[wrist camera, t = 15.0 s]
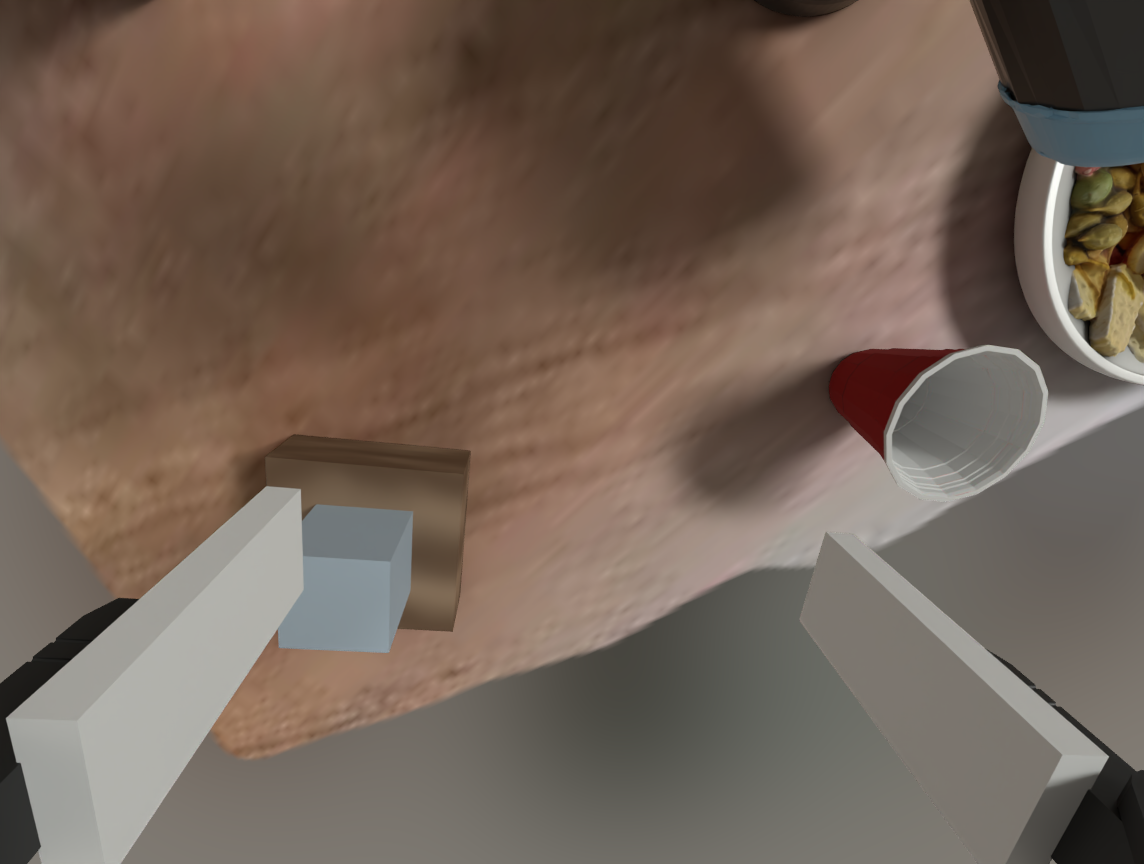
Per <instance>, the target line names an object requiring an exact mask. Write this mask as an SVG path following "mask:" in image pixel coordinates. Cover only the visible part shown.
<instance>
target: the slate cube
mask: <svg viewBox="0 0 1144 864" xmlns="http://www.w3.org/2000/svg"><path fill="white" fill-rule="evenodd" d="M412 528H413V511H402V510H388V509H374V508H360V507H346V506H333V505H319V504H316V505H315V506H314V507H313V509H312V510H311V511H310V512H309V513H308V515H307V516H306V517H305V518H304V519H303V520H302V547H303V581H304V590H303V592H302V593H301V594H300V596H299V597H298V599H297V600H296V602H295V603H294V605H293V606H292V608H291V609H290V611H289V612H288V614H287V615H286V617H285V618H284V620H283V621H282V623H281V624H280V626H279V627H278V638H279V648H291V649H313V650H336V651H358V652H380V653H389V651H390V648H391V645H392V642H393V639H394V636H395V633H396V631H397V628H398V625H399V622H400V619H401V616H402V614H403V611H404V608H405V605H406V602H407V599H408V596H409V594H410V589H411V559H412Z"/></svg>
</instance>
